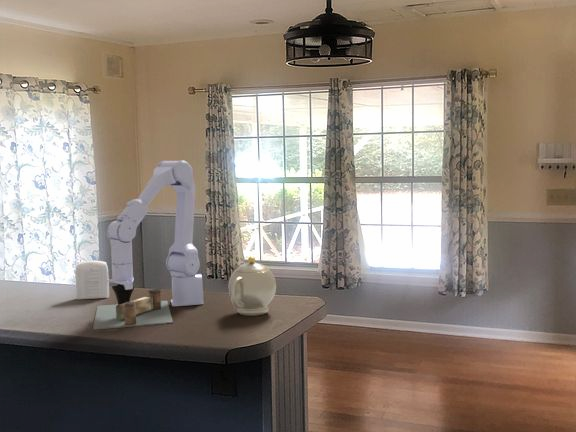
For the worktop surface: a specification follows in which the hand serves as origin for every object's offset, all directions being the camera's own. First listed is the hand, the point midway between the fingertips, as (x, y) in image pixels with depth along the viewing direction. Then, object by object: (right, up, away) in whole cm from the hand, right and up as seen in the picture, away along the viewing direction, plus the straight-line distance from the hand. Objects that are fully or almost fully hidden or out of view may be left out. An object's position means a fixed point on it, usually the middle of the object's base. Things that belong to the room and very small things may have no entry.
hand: (123, 310), depth 185 cm
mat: (+2, -2, +3) cm, 4 cm away
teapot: (+36, -1, 0) cm, 36 cm away
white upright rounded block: (-17, 0, +27) cm, 32 cm away
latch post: (+4, -3, -9) cm, 10 cm away
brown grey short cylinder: (+7, -1, +8) cm, 11 cm away
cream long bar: (+3, -1, 0) cm, 3 cm away
